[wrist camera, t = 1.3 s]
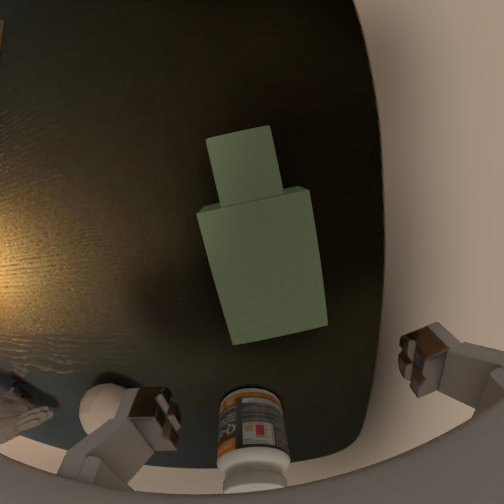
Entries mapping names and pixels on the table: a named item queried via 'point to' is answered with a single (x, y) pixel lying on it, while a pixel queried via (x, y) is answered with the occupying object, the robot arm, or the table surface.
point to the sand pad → (1, 31)
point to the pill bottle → (252, 442)
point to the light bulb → (100, 405)
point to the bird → (19, 413)
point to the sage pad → (261, 242)
